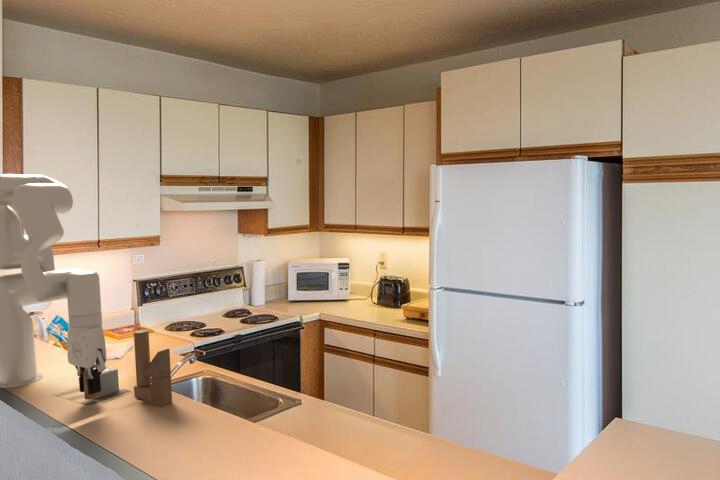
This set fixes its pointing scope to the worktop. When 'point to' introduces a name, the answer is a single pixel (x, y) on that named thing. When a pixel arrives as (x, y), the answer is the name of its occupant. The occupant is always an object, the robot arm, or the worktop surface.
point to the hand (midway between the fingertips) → (90, 391)
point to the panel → (79, 397)
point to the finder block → (108, 381)
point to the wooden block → (151, 372)
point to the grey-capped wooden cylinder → (85, 377)
